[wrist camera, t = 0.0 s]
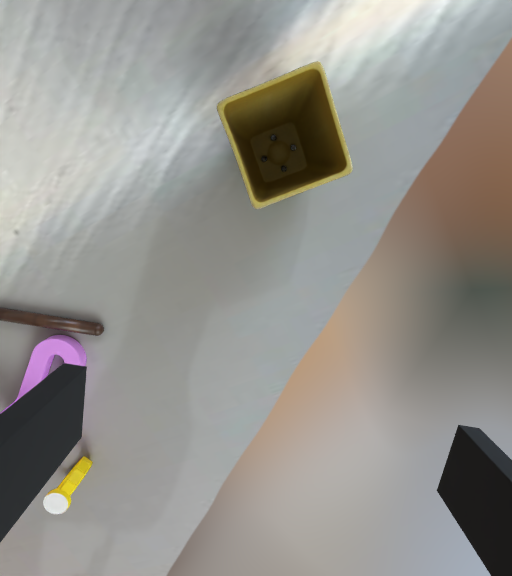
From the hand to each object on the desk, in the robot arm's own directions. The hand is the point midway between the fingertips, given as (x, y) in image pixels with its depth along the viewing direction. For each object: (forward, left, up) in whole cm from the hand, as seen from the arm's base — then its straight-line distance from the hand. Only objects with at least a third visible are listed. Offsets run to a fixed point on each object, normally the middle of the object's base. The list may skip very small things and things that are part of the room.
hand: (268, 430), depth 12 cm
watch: (+28, -18, -28) cm, 44 cm away
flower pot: (-13, 0, -28) cm, 31 cm away
